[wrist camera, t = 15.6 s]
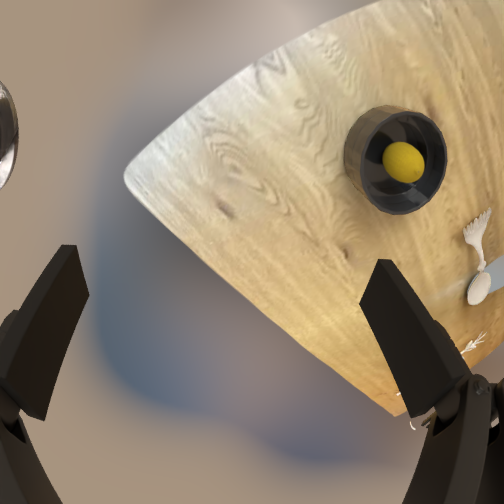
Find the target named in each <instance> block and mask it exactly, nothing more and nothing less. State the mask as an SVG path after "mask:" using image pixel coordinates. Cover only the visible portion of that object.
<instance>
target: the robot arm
mask: <svg viewBox="0 0 504 504" xmlns="http://www.w3.org/2000/svg"><path fill="white" fill-rule="evenodd" d="M88 297H89V292H88V288H87V285H86V281H85V278H84V274H83V271H82V266H81V263H80V259H79V254H78V250H77V246H76V245H61V247H60V248H59V249H58V251H57V252H56V253H55V255H54V256H53V258H52V259H51V261H50V262H49V264H48V265H47V266H46V268H45V269H44V271H43V272H42V274H41V275H40V277H39V278H38V280H37V282H36V283H35V285H34V286H33V288H32V289H31V291H30V293H29V294H28V296H27V297H26V299H25V301H24V302H23V304H22V306H21V308H20V309H19V311H18V310H13V311H12V312H11V313H10V314H9V315H8V316H7V317H6V318H5V319H4V321H3V323H2V324H1V326H0V504H63V503H62V502H61V500H60V498H59V497H58V495H57V493H56V491H55V490H54V488H53V486H52V485H51V483H50V481H49V479H48V477H47V475H46V473H45V471H44V469H43V467H42V465H41V463H40V461H39V459H38V457H37V454H36V452H35V450H34V448H33V446H32V443H31V441H30V438H29V436H28V434H27V431H26V428H25V426H24V423H23V420H22V418H21V417H20V415H19V412H20V408H21V409H22V410H23V411H24V412H25V413H26V414H27V415H28V416H30V417H33V418H36V419H39V420H42V421H44V420H45V417H46V414H47V410H48V407H49V403H50V399H51V396H52V393H53V389H54V386H55V383H56V380H57V377H58V374H59V371H60V367H61V365H62V362H63V359H64V357H65V354H66V351H67V348H68V346H69V343H70V340H71V338H72V335H73V333H74V330H75V327H76V325H77V323H78V320H79V318H80V316H81V313H82V311H83V308H84V306H85V304H86V302H87V300H88ZM359 305H360V307H361V309H362V311H363V313H364V315H365V317H366V319H367V321H368V323H369V325H370V327H371V329H372V331H373V333H374V335H375V337H376V340H377V342H378V344H379V346H380V348H381V350H382V352H383V354H384V357H385V359H386V361H387V363H388V365H389V368H390V370H391V372H392V374H393V377H394V379H395V381H396V384H397V386H398V388H399V391H400V393H401V395H402V398H403V400H404V403H405V405H406V407H407V410H408V412H409V415H410V417H411V418H414V417H417V416H420V415H423V414H425V413H426V412H428V411H429V410H430V409H431V408H432V407H433V406H434V407H435V410H436V411H435V412H434V413H433V414H432V415H430V416H429V417H428V418H427V419H426V420H425V421H423V423H422V425H421V426H424V425H426V424H427V423H428V422H429V421H430V424H429V425H428V426H427V427H426V428H428V432H427V436H426V439H425V442H424V446H423V449H422V452H421V455H420V458H419V461H418V464H417V467H416V470H415V473H414V475H413V479H412V481H411V483H410V486H409V488H408V491H407V493H406V496H405V498H404V500H403V502H402V504H504V378H503V379H502V380H501V381H500V382H499V383H498V384H497V383H489V382H488V381H487V380H486V378H484V377H483V376H482V375H479V374H475V375H473V374H472V373H471V371H470V369H469V368H468V366H467V364H466V362H465V361H464V359H463V357H462V356H461V354H460V352H459V351H458V349H457V347H455V344H454V342H453V341H452V339H450V338H451V337H450V336H449V334H448V333H447V331H446V330H445V328H444V327H443V326H442V325H441V324H440V323H439V322H437V321H436V320H433V318H432V317H431V315H430V314H429V312H428V311H427V309H426V308H425V306H424V305H423V303H422V302H421V300H420V299H419V297H418V296H417V294H416V293H415V292H414V290H413V289H412V287H411V286H410V285H409V283H408V282H407V280H406V279H405V278H404V276H403V275H402V273H401V272H400V271H399V269H398V268H397V267H396V265H395V264H394V263H393V261H392V260H388V259H378V261H377V263H376V266H375V268H374V271H373V273H372V275H371V278H370V280H369V282H368V285H367V287H366V289H365V292H364V294H363V296H362V298H361V301H360V303H359ZM497 417H499V423H498V424H497V425H496V426H494V427H493V428H492V427H491V422H492V421H494V420H495V419H496V418H497Z"/></svg>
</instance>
